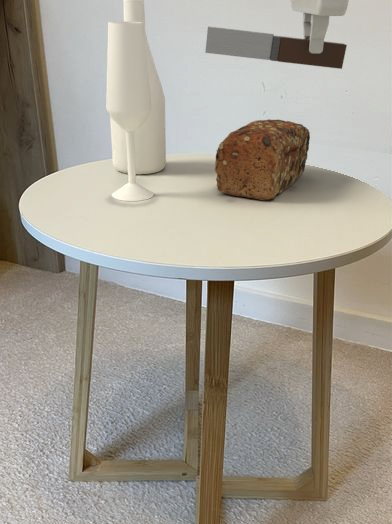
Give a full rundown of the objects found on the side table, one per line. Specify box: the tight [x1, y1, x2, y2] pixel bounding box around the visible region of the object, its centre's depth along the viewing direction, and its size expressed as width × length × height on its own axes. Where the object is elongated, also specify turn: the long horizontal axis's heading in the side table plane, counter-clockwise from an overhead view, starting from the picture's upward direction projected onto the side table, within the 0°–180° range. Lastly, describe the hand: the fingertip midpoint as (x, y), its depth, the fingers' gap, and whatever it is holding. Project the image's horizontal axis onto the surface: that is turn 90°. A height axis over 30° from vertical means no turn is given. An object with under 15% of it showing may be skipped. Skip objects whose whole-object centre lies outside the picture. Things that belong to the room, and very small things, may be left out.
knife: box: [204, 26, 348, 70], centre depth 82 cm, size 19×2×3 cm, turn 91°
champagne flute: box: [105, 20, 155, 202], centre depth 89 cm, size 7×7×24 cm
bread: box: [214, 118, 311, 201], centre depth 98 cm, size 19×11×10 cm, turn 154°
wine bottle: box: [109, 0, 167, 175], centre depth 101 cm, size 10×10×30 cm
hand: (312, 51), depth 83 cm, fingers closed on knife, 2 cm apart
